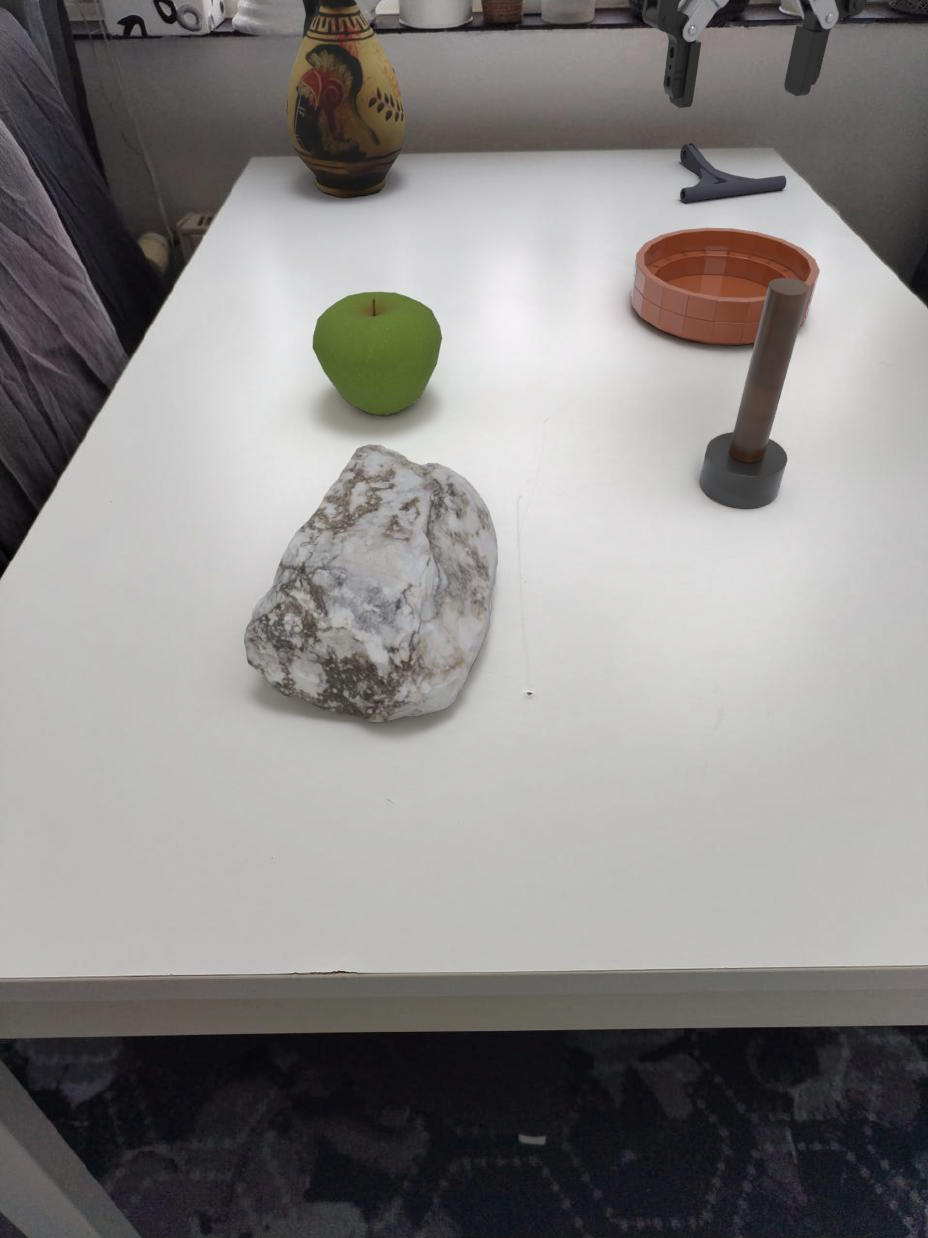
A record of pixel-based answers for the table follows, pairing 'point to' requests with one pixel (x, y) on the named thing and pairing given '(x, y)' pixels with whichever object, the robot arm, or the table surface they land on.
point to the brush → (758, 408)
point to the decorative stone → (380, 592)
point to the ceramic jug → (344, 101)
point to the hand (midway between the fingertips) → (738, 98)
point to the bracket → (720, 179)
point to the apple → (378, 349)
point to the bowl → (714, 282)
